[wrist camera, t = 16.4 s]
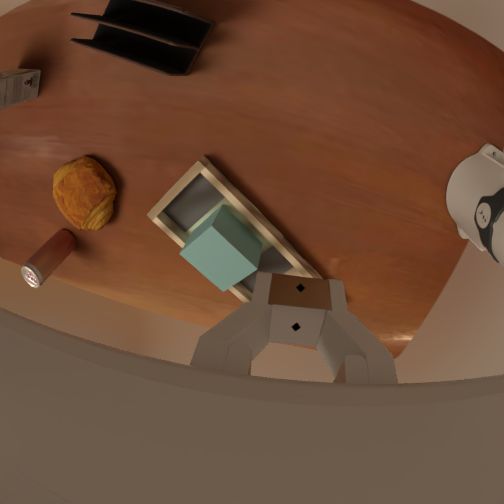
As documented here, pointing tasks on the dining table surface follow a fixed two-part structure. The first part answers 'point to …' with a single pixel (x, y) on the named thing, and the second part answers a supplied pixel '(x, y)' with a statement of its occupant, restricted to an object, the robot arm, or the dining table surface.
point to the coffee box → (18, 86)
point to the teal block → (223, 249)
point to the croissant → (84, 193)
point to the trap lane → (225, 192)
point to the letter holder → (149, 34)
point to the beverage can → (48, 258)
